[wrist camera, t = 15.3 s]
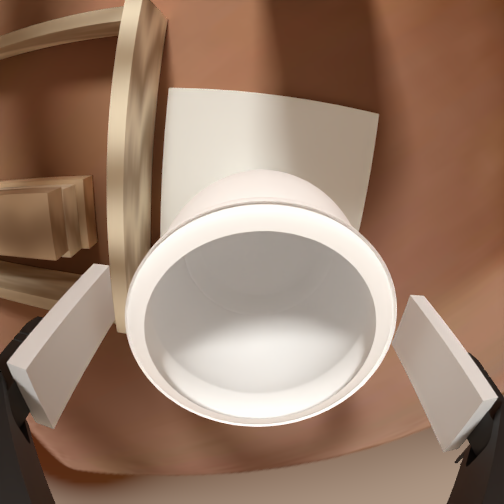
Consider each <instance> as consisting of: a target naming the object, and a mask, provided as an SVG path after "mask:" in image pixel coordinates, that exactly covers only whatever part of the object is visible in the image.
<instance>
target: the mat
mask: <svg viewBox="0 0 504 504" xmlns="http://www.w3.org/2000/svg"><path fill="white" fill-rule="evenodd" d="M378 119H379V114H377V113H372V112H368V111H364V110H359V109H355V108H350V107H345V106H340V105H335V104H330V103H324V102H319V101H313V100H307V99H300V98H293V97H286V96H279V95H271V94H262V93H253V92H242V91H230V90H216V89H196V88H169V92H168V102H167V112H166V124H165V136H164V150H163V167H162V189H161V224H160V238H161V237H162V236H163V235H164V234H165V233H166V232H167V230H168V229H169V227H170V225H171V224H172V222H173V220H174V219H175V218H176V216H177V215H178V213H179V212H180V211H181V210H182V208H183V207H184V206H185V205H186V204H187V203H188V202H189V201H190V200H191V199H192V198H193V197H194V196H195V195H196V194H198V193H199V192H200V191H202V190H203V189H204V188H206V187H207V186H209V185H210V184H212V183H214V182H216V181H218V180H220V179H222V178H224V177H226V176H229V175H232V174H235V173H239V172H244V171H249V170H256V169H265V170H273V171H280V172H284V173H288V174H291V175H294V176H297V177H299V178H301V179H303V180H305V181H307V182H309V183H311V184H312V185H314V186H316V187H317V188H319V189H320V190H321V191H322V192H324V193H325V194H326V195H327V196H328V197H329V198H331V199H332V200H333V201H334V203H335V204H336V205H337V206H338V207H339V208H340V209H341V211H342V212H343V213H344V215H345V216H346V218H347V219H348V221H349V222H350V224H351V226H352V227H354V228H355V229H356V230H357V231H358V232H359V228H360V224H361V219H362V214H363V209H364V204H365V199H366V194H367V188H368V183H369V177H370V171H371V166H372V159H373V153H374V147H375V140H376V133H377V126H378Z"/></svg>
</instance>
